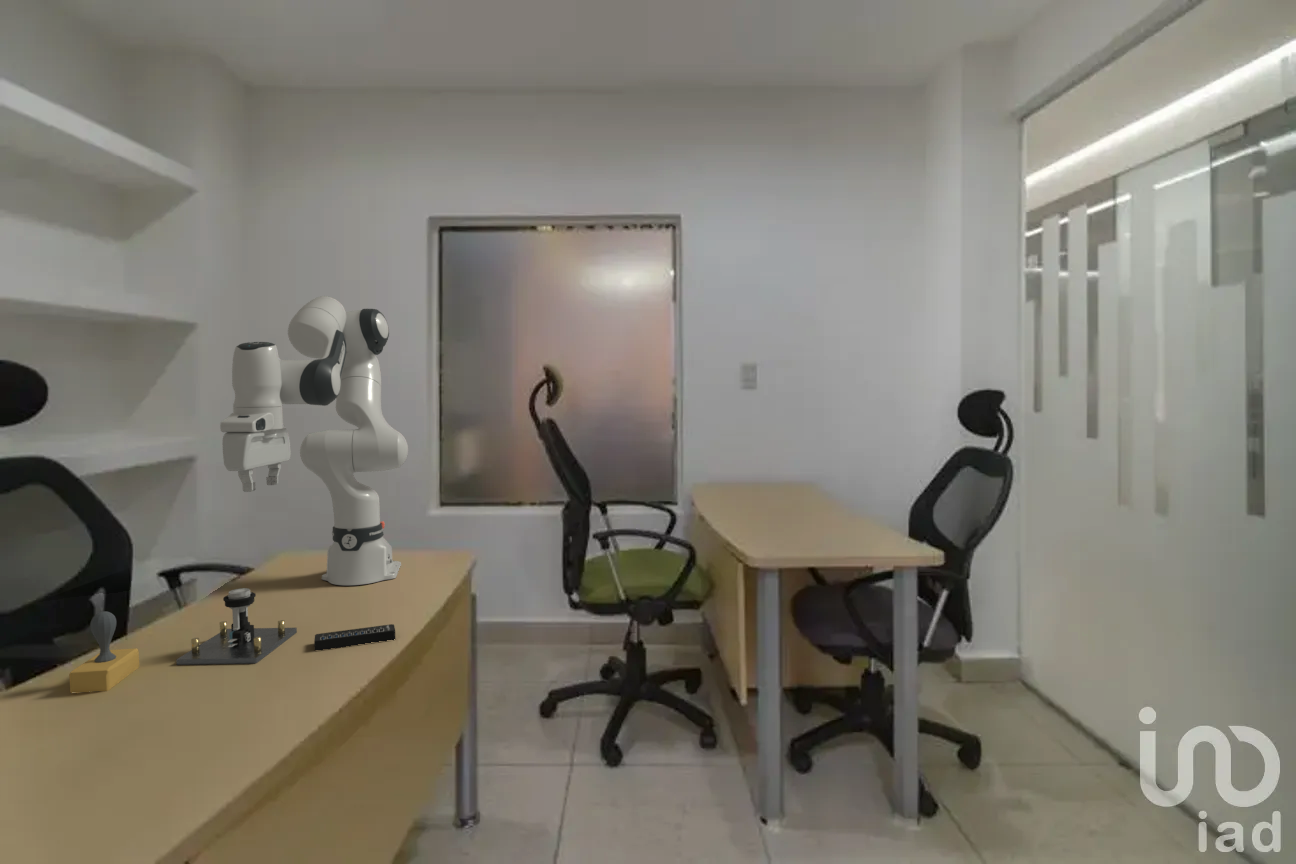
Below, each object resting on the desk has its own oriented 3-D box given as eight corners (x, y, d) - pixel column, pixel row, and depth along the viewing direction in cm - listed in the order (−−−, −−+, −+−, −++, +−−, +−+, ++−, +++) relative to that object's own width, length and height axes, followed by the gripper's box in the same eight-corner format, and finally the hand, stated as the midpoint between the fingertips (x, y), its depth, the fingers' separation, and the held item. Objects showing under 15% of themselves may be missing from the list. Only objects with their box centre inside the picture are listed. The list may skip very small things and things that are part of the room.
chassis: (226, 633, 141) (225, 616, 141) (296, 632, 142) (296, 615, 142) (176, 664, 125) (175, 645, 125) (256, 663, 126) (255, 644, 126)
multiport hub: (315, 645, 136) (314, 633, 136) (394, 634, 142) (393, 623, 141) (314, 653, 132) (314, 641, 132) (395, 642, 138) (395, 630, 137)
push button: (243, 649, 130) (241, 597, 129) (214, 650, 130) (212, 597, 129) (262, 637, 136) (260, 586, 136) (235, 637, 136) (233, 587, 136)
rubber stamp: (109, 691, 115) (105, 620, 114) (68, 694, 113) (64, 622, 113) (140, 667, 124) (137, 601, 123) (103, 670, 123) (100, 603, 122)
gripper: (268, 418, 153) (270, 481, 154) (214, 423, 132) (217, 495, 133) (297, 418, 153) (299, 481, 154) (248, 423, 133) (251, 495, 134)
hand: (261, 488), depth 144 cm, fingers open, 8 cm apart
